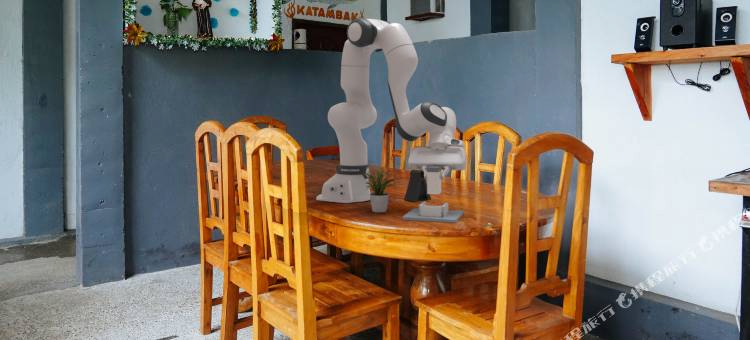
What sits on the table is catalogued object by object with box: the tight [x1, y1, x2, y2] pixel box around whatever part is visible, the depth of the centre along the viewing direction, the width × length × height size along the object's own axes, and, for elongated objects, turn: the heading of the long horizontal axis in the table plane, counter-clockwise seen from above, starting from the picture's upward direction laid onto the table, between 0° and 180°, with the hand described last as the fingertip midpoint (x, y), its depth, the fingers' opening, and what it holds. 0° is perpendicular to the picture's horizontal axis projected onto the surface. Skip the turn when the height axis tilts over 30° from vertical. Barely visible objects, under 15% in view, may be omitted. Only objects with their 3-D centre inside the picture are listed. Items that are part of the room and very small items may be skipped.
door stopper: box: [403, 169, 432, 203], centre depth 225 cm, size 9×6×12 cm, turn 126°
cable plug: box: [426, 166, 442, 195], centre depth 193 cm, size 4×4×9 cm
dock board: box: [402, 201, 465, 224], centre depth 194 cm, size 18×15×4 cm
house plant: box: [365, 166, 399, 213], centre depth 203 cm, size 14×14×16 cm
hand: (434, 177), depth 192 cm, fingers closed on cable plug, 4 cm apart
